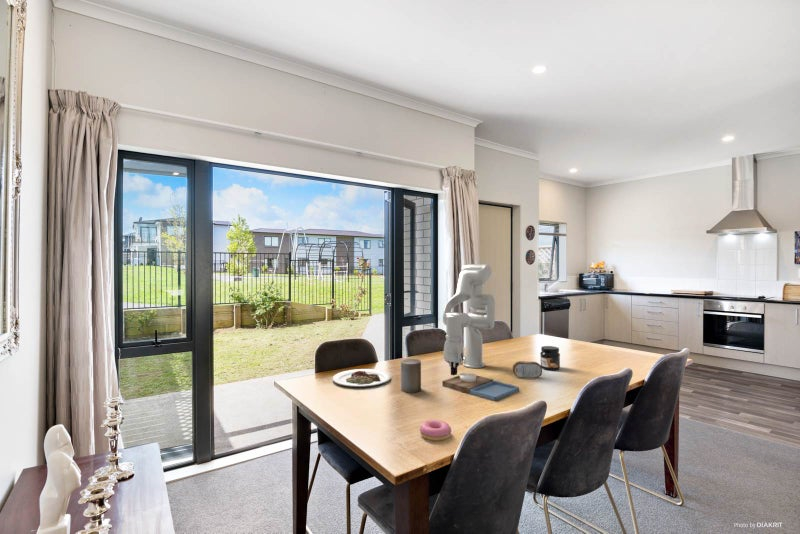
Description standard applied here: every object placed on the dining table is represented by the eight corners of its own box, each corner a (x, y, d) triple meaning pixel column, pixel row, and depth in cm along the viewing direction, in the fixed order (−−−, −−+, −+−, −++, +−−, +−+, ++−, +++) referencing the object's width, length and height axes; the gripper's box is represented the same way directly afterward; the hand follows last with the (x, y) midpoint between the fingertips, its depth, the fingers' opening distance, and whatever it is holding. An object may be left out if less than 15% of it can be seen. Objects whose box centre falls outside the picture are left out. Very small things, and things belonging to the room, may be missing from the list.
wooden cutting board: (442, 386, 191) (442, 380, 191) (467, 377, 205) (467, 373, 205) (469, 393, 180) (469, 388, 180) (493, 384, 193) (493, 379, 193)
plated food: (354, 393, 181) (354, 386, 181) (321, 379, 204) (321, 373, 204) (402, 381, 201) (402, 374, 201) (367, 369, 223) (367, 363, 223)
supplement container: (541, 370, 219) (541, 349, 219) (539, 365, 229) (539, 345, 229) (561, 371, 216) (561, 350, 216) (558, 366, 227) (558, 346, 227)
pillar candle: (424, 388, 188) (423, 357, 188) (416, 394, 180) (416, 361, 179) (405, 385, 192) (405, 355, 192) (397, 391, 184) (397, 359, 183)
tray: (469, 393, 179) (469, 389, 179) (493, 384, 193) (493, 380, 193) (495, 401, 169) (495, 396, 169) (518, 391, 183) (518, 386, 183)
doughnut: (418, 429, 141) (418, 418, 141) (448, 428, 142) (448, 417, 142) (421, 443, 130) (421, 430, 130) (454, 442, 131) (454, 430, 131)
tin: (541, 377, 206) (541, 361, 206) (543, 379, 203) (543, 362, 203) (512, 376, 207) (512, 360, 207) (513, 378, 204) (513, 362, 204)
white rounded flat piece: (456, 380, 192) (456, 375, 192) (466, 376, 198) (466, 372, 198) (469, 383, 187) (469, 378, 187) (479, 380, 192) (479, 375, 192)
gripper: (437, 337, 201) (438, 373, 202) (460, 341, 191) (461, 379, 191) (447, 335, 207) (447, 370, 207) (470, 339, 196) (470, 376, 196)
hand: (453, 374), depth 199 cm, fingers closed
